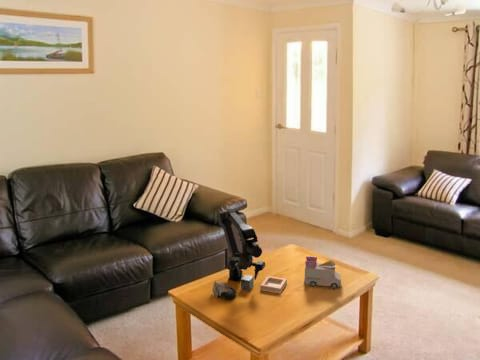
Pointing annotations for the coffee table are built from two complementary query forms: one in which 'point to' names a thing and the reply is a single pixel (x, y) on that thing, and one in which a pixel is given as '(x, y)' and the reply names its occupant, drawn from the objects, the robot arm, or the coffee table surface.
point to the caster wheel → (223, 290)
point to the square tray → (273, 284)
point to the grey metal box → (247, 282)
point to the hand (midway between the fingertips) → (247, 278)
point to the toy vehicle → (321, 273)
